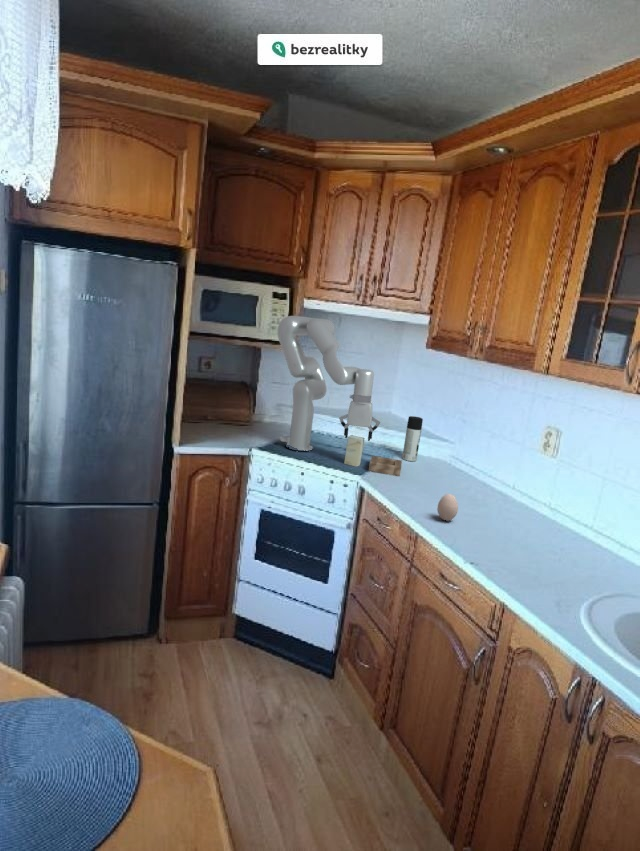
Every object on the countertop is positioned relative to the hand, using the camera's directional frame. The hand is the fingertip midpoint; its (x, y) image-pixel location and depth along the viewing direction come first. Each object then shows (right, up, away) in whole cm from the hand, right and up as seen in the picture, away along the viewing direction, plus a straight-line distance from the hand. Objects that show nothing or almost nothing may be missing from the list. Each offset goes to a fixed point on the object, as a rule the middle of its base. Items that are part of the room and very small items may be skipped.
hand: (357, 438), depth 241 cm
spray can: (+25, -10, +23) cm, 36 cm away
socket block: (+12, -13, +1) cm, 18 cm away
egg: (+26, -26, -51) cm, 63 cm away
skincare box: (-2, -11, +3) cm, 12 cm away
